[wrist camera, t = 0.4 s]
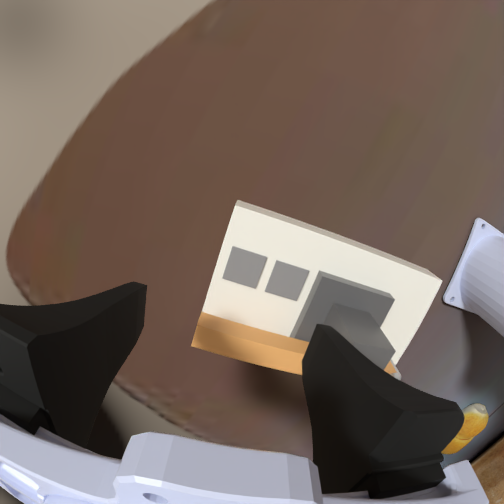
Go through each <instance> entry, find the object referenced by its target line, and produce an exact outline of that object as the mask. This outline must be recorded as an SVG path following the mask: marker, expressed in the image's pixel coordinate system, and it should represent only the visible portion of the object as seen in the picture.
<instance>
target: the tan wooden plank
mask: <svg viewBox="0 0 504 504" xmlns="http://www.w3.org/2000/svg"><path fill="white" fill-rule="evenodd" d="M308 345H309V342H307V341H303V340H299V339H295V338H291V337H287V336H283V335H280V334H276V333H272V332H268V331H265V330H261V329H258V328H254V327H251V326H247V325H244V324H240V323H237V322H233V321H230V320H227V319H223V318H220V317H217V316H214V315H210V314H207V313H204V312H201V315H200V318H199V321H198V324H197V327H196V331H195V334H194V338H193V341H192V345H191V346H193V347H196V348H200V349H203V350H206V351H210V352H213V353H216V354H220V355H223V356H227V357H230V358H234V359H238V360H241V361H245V362H249V363H253V364H257V365H261V366H265V367H269V368H273V369H277V370H282V371H286V372H291V373H295V374H300V375H302V359H303V357H304V354H305V352H306V350H307V347H308ZM384 371H385V372H387V373H388V374H390V375H392V376H393V377H395V378H396V379H398V380H401V374H400V373H399V371H398V369H397V368H396V366H395V364H394V363H393V361H392V359H391V360H390V361H389V363H388V364H387V366H386V368H385V369H384Z"/></svg>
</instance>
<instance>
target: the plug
mask: <svg viewBox="0 0 504 504" xmlns="http://www.w3.org/2000/svg"><path fill="white" fill-rule="evenodd" d="M394 301H395V299H394V298H393V297H392V296H391V294H390V293H387V292H384V291H381V290H378V289H375V288H372V287H369V286H366V285H363V284H360V283H356V282H353V281H350V280H347V279H344V278H341V277H338V276H335V275H332V274H329V273H326V272H323V271H320V270H319V272H318V274H317V276H316V279H315V281H314V283H313V286H312V288H311V290H310V292H309V295H308V297H307V299H306V302H305V304H304V306H303V308H302V310H301V313H300V315H299V317H298V319H297V321H296V324H295V326H294V328H293V330H292V332H291V334H290V336H289V337H291V338H295V339H299V340H303V341H307V342H310V340H311V337H312V335H313V332H314V329H315V327H316V324H323V325H329V326H331V327H333V328H334V329H335V330H336V331H338V332H339V333H340V334H341V335H342V336H343V337H344V338H345V339H346V340H348V341H349V342H350V343H351V344H352V345H353V346H354V347H355V348H356V349H357V350H359V351H360V352H361V353H362V354H363V355H364V356H365V357H367V358H368V359H369V360H370V361H372V362H373V363H374V364H376V365H377V366H378V367H380V368H381V369H382V370H384V369H385V368H386V366H387V364H388V363H389V361H390V360H391V358H392V357H393V355H394V353H395V352H396V351H395V349H394V348H393V346H392V345H391V343H390V342H389V340H388V339H387V337H386V336H385V334H384V333H383V331H382V330H381V328H380V327H381V325H382V323H383V322H384V320H385V318H386V316H387V314H388V312H389V310H390V308H391V307H392V305H393V303H394Z"/></svg>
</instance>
